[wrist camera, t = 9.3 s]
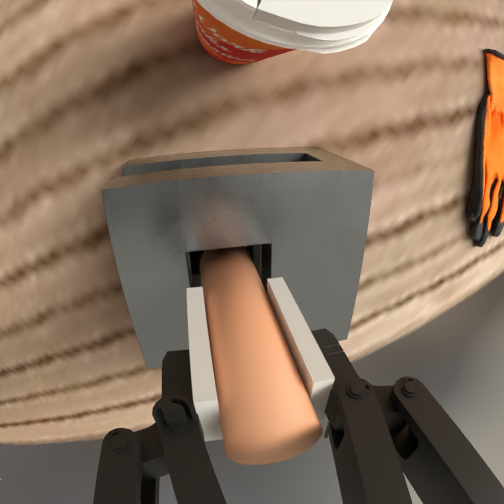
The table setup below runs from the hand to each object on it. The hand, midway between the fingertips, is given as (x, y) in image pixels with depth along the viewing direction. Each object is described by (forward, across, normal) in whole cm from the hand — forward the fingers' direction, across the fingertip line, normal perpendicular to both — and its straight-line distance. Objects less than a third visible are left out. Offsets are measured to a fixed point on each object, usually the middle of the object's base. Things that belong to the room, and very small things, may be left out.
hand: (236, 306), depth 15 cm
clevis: (+10, 0, 0) cm, 10 cm away
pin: (+4, 0, 0) cm, 4 cm away
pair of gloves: (+11, +40, +7) cm, 42 cm away
